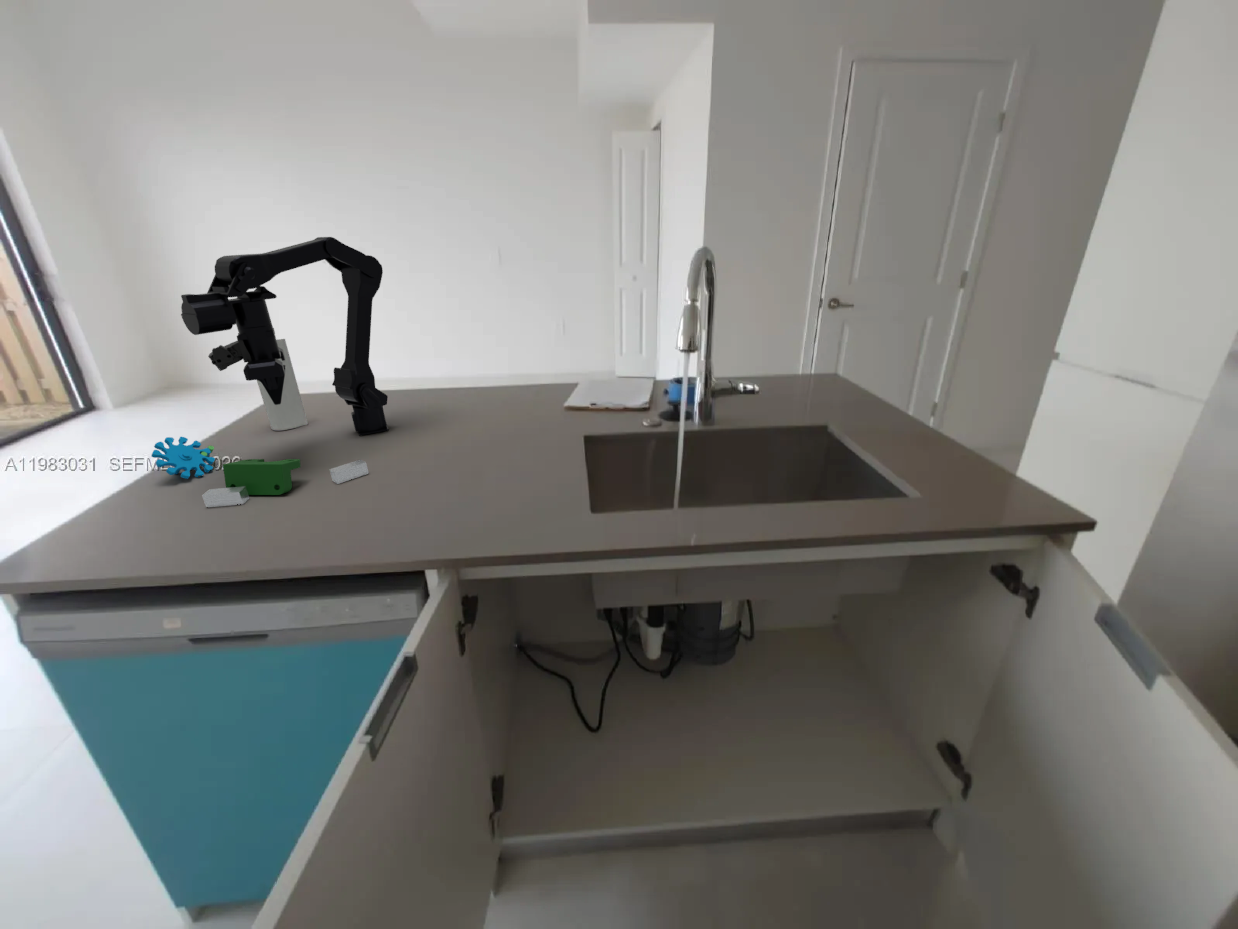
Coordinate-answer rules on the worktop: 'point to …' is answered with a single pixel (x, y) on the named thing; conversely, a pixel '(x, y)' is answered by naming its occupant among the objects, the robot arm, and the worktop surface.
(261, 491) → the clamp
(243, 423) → the worktop surface
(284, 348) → the paper towel roll
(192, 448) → the gear
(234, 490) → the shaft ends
